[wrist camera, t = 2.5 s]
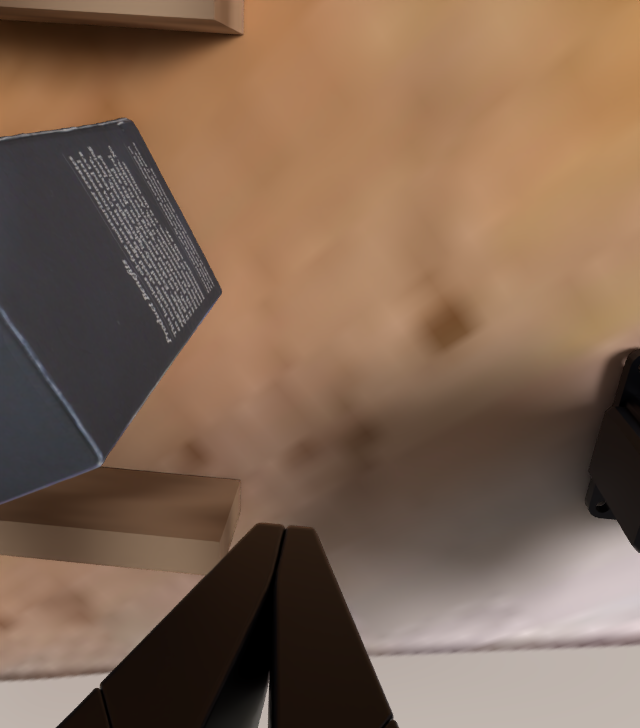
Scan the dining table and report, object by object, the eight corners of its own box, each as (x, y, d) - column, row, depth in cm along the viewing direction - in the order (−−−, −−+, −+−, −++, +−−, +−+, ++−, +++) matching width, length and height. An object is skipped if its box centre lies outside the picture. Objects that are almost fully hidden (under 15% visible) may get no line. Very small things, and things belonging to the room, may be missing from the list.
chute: (244, -29, 16) (213, -61, 13) (240, 512, 23) (220, 576, 20) (-149, -51, 17) (-271, -87, 13) (-32, 485, 24) (-94, 545, 21)
